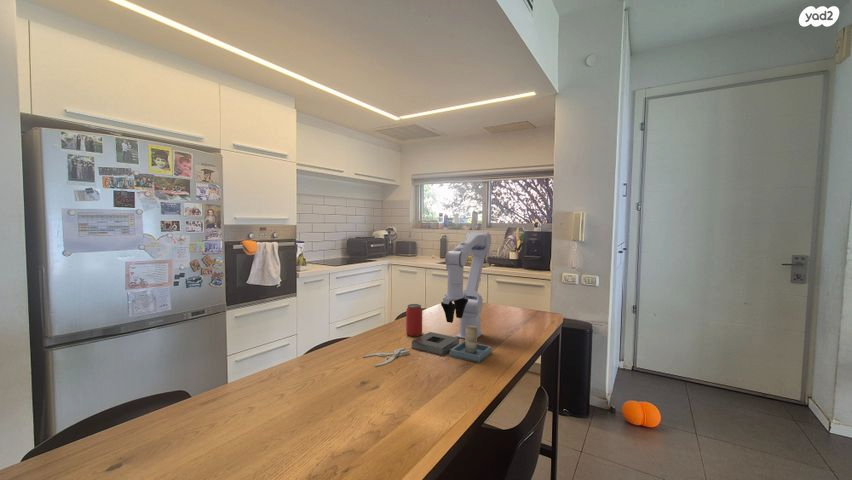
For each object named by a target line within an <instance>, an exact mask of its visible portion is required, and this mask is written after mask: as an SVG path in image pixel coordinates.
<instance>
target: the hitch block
mask: <svg viewBox="0 0 852 480" xmlns="http://www.w3.org/2000/svg"><path fill="white" fill-rule="evenodd" d="M458 344H460V338H459V337H456V336H452V335H447V334H443V333H437V332H432V331H429V332H427V333H425V334H423V335H420V336H418V338H417V337H416V339H414V340H411V349H414V350H418V351H422V352H426V353H430V354H435V355H438V356H443V355H445V354H447V353H448V352H450V349H452V348H453V347H455V346H457V345H458Z"/></svg>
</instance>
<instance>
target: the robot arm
mask: <svg viewBox="0 0 852 480" xmlns="http://www.w3.org/2000/svg"><path fill="white" fill-rule="evenodd" d="M465 235H466V236H465V241H461V242H459V243H458V245H457V246H455V248H454V249H453V250H448V252H446V254H445V258H444V259H445V260H444V261H445V262H444V263H445V265H446V267H445V268H446V271H447V288H446V289H447V293H445V294H444V297H442V301H441V302H440V306H441V308H442V309H443V313H444V315H445V319H446V323H449V324H452V323H453V322H454V317H456V318H457V319H459V333H458V334H457V333H456V335H455V337H457V338H459V339H460V338H461V339H465V337H466V326H476V327H477V338H479V337H481V336H482V335H483V334H484V333H483V332H482V331H481V326H482V323H481V322H482V321H481V320H482V319H481V316H480V315H481V314H482V312H483V301H484V299H483V297H482V295H481V294H480V293H479V292H478V290H479V287H480V281H481V276H482V271H483V266H484V262H485V258H486V256H487V255H489V253H490V251H491V247H492V246H491V245H492V236H491V233H490V232H474V231H473V232H471V231H468V232H467V233H466V234H465ZM470 255H472V260H471V262H470V263H471V264H470V269H469V274H468V277H467V283H466V287H465V290H464V267H465V266H466V264H467V261H468V257H469V256H470Z"/></svg>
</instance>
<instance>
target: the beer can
mask: <svg viewBox="0 0 852 480" xmlns="http://www.w3.org/2000/svg"><path fill="white" fill-rule="evenodd" d="M405 314H406V316H405V317H406V318H405V319H406V320H405V321H406V322H405V323H406V324H405V331H406V332H405V334H406V335H407V336H411V337H420V336H422V334H423V308H422V305H421V304H418V303H411V304H408V305H407V307H406V311H405Z"/></svg>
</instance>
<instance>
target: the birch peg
mask: <svg viewBox="0 0 852 480" xmlns="http://www.w3.org/2000/svg"><path fill="white" fill-rule="evenodd" d="M464 341H465V352H466V353H470V354H476V353H477V344H478V337H477V327H476V326H466V337H465V340H464Z"/></svg>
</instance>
